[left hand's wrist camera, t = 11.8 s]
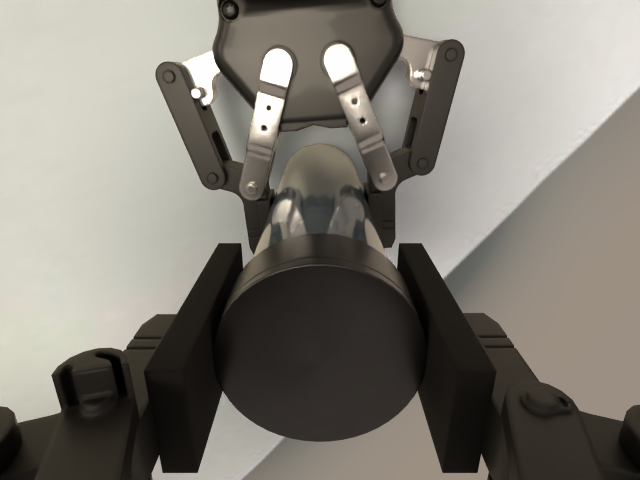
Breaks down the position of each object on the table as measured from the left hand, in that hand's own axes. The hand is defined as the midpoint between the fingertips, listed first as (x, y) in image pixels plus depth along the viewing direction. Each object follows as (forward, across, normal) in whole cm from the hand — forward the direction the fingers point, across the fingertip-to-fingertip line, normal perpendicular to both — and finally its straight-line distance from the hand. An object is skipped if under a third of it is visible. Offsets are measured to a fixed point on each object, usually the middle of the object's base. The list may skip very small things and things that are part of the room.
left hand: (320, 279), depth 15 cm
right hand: (+8, 0, -3) cm, 8 cm away
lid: (-4, 0, 0) cm, 4 cm away
